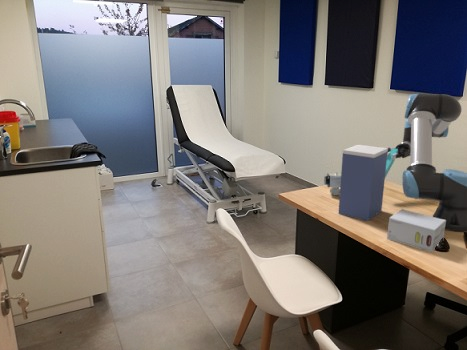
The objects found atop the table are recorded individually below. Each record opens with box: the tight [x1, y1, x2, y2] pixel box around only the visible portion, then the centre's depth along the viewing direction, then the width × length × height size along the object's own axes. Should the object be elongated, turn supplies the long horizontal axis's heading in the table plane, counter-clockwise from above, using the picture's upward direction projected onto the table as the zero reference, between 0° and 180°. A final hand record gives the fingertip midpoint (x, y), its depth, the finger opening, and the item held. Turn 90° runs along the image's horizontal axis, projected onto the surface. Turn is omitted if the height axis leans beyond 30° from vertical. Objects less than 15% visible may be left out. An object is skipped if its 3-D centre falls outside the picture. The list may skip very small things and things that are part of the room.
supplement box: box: [386, 208, 446, 253], centre depth 150 cm, size 17×13×9 cm
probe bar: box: [385, 148, 398, 178], centre depth 198 cm, size 24×3×3 cm
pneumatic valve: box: [323, 172, 341, 196], centre depth 203 cm, size 6×12×12 cm, turn 88°
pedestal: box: [338, 144, 389, 222], centre depth 176 cm, size 16×14×30 cm
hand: (389, 156), depth 199 cm, fingers closed on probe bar, 3 cm apart
